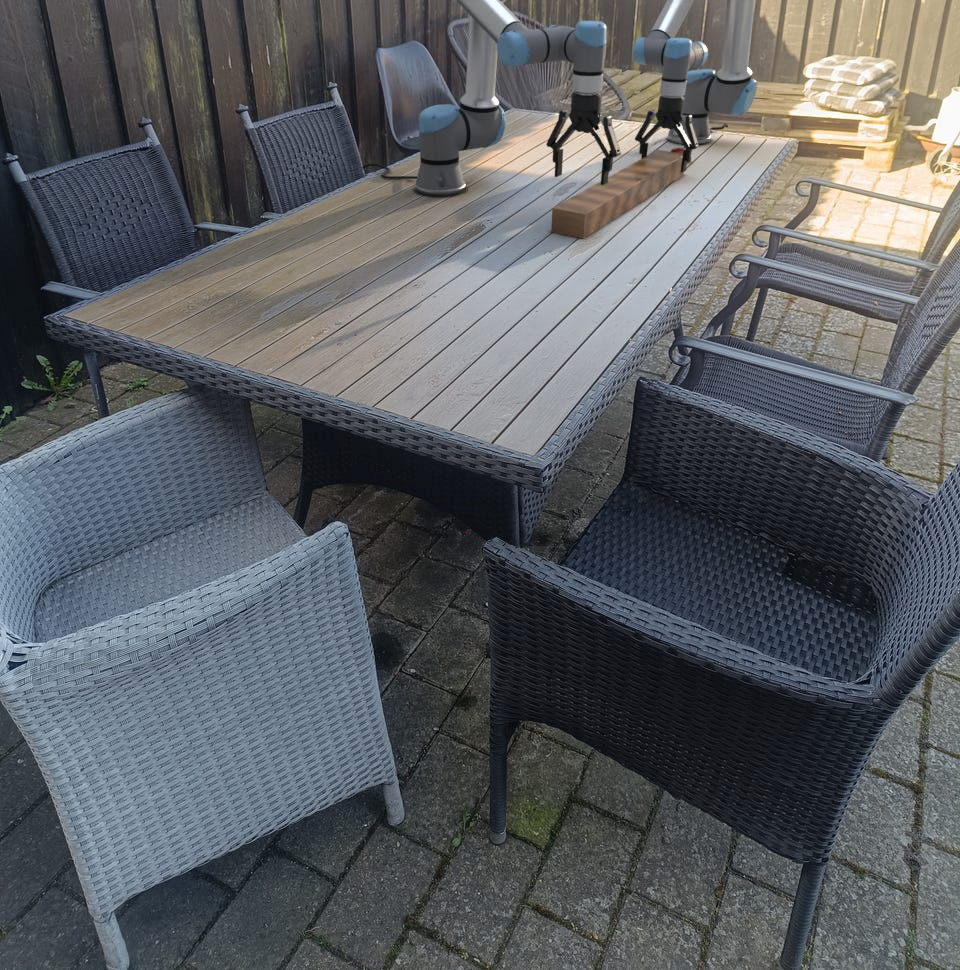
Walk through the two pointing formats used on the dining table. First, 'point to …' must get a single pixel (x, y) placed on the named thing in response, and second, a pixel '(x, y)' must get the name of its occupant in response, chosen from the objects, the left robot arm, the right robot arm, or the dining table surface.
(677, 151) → the dark red lumpy piece
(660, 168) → the wooden beam
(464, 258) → the dining table surface
